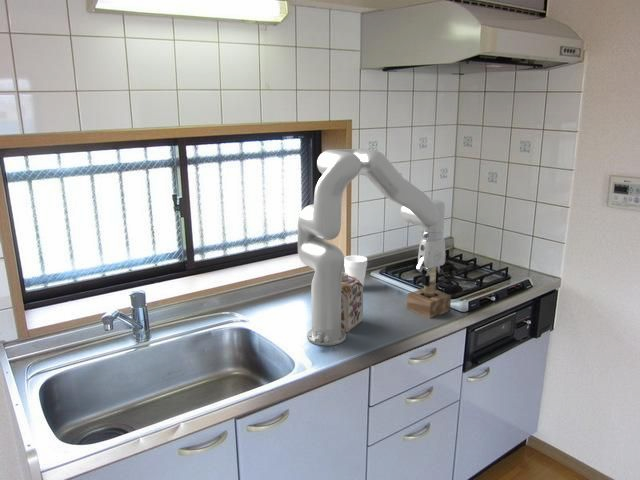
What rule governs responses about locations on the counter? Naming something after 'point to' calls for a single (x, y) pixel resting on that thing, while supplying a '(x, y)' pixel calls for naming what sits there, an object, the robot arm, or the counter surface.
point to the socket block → (428, 303)
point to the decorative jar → (351, 302)
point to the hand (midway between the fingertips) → (429, 283)
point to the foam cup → (356, 267)
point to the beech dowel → (431, 283)
